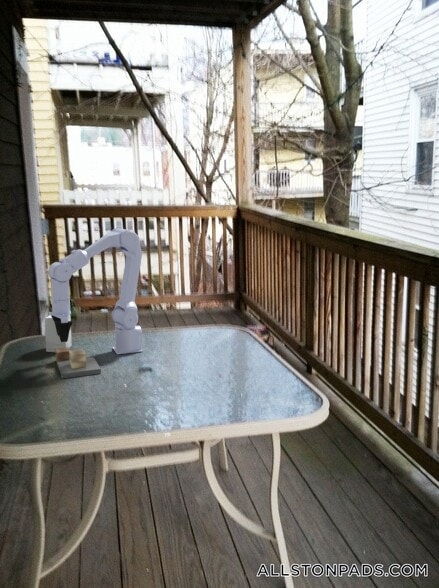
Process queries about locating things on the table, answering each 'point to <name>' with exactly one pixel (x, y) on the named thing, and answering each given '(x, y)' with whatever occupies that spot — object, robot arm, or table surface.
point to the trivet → (68, 371)
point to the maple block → (77, 358)
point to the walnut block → (62, 354)
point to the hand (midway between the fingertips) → (62, 338)
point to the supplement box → (54, 336)
